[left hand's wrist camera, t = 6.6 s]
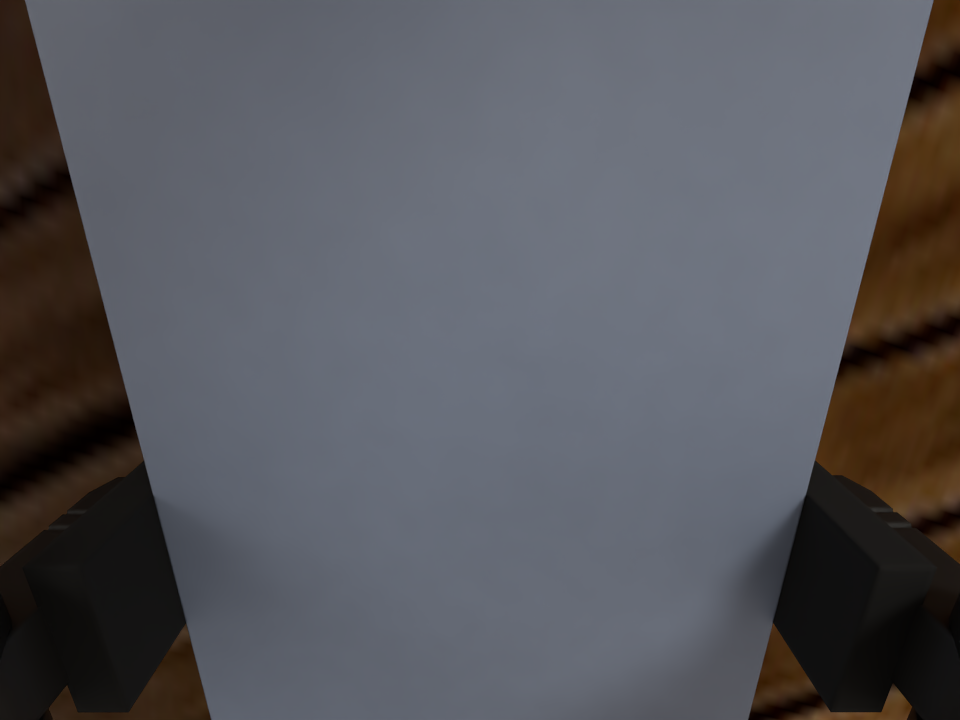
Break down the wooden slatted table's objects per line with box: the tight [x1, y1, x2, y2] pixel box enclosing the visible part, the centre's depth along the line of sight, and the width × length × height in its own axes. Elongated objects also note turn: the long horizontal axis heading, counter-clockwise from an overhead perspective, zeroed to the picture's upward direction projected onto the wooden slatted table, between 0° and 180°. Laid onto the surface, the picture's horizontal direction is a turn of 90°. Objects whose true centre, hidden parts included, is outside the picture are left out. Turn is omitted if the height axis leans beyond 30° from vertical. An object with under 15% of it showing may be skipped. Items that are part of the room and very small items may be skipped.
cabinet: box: [25, 0, 933, 720], centre depth 12 cm, size 17×10×11 cm, turn 0°
